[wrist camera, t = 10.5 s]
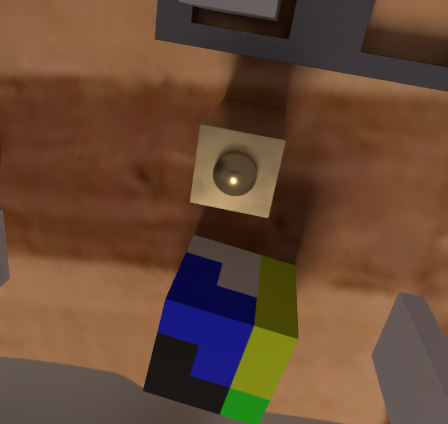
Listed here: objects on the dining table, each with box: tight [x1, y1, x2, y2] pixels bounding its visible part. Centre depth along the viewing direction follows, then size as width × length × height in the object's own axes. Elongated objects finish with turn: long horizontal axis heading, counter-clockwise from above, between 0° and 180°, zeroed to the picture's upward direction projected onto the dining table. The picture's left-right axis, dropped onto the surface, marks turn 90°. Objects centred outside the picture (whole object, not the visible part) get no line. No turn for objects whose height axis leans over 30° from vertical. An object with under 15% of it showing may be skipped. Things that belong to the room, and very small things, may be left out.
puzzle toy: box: [143, 235, 298, 424], centre depth 35 cm, size 10×10×10 cm
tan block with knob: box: [190, 98, 286, 218], centre depth 28 cm, size 5×5×10 cm
